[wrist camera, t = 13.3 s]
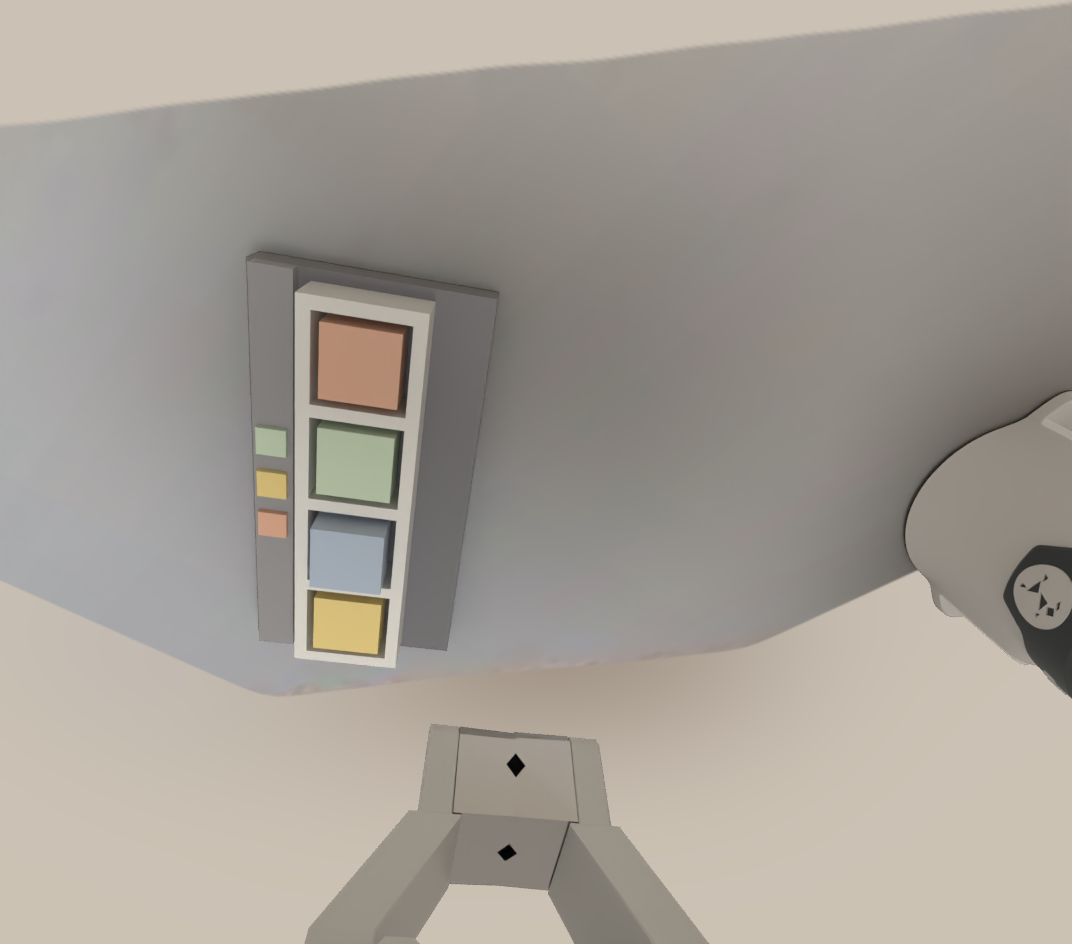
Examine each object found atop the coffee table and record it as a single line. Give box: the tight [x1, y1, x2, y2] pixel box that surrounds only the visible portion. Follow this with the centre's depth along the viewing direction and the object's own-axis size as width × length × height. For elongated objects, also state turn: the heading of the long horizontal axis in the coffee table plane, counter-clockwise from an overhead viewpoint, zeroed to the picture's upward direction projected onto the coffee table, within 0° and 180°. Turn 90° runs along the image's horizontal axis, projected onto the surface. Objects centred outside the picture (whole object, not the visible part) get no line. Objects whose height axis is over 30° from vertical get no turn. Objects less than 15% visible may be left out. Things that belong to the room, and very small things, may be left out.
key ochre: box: [313, 591, 386, 654], centre depth 44 cm, size 4×4×2 cm
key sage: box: [316, 420, 401, 503], centre depth 39 cm, size 4×4×2 cm
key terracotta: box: [318, 313, 409, 410], centre depth 36 cm, size 4×4×2 cm
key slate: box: [309, 511, 391, 595], centre depth 40 cm, size 4×4×2 cm
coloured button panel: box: [246, 251, 499, 668], centre depth 41 cm, size 14×27×5 cm, turn 170°
